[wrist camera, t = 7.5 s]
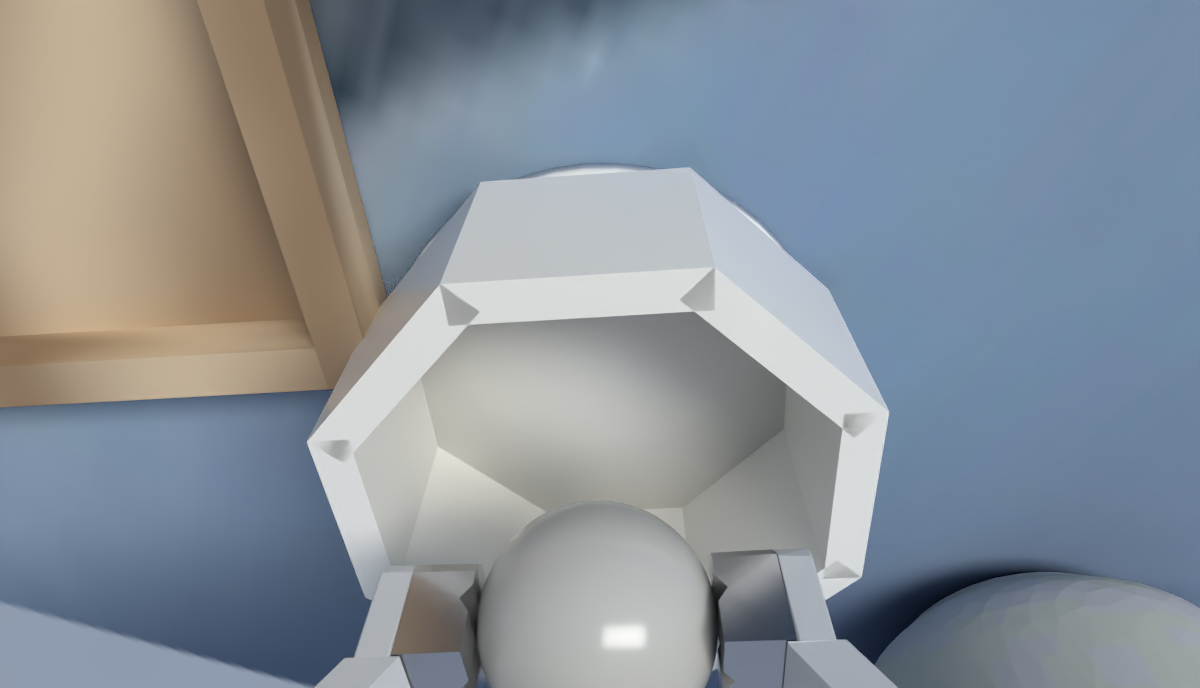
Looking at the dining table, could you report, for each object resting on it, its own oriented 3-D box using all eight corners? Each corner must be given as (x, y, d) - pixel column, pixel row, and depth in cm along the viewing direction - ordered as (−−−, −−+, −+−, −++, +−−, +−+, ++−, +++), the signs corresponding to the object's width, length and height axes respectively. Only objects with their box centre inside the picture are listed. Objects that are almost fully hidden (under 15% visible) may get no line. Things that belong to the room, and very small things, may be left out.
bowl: (438, 521, 20) (397, 682, 16) (345, 180, 15) (251, 296, 11) (799, 504, 19) (846, 666, 15) (833, 145, 14) (915, 254, 10)
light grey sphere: (509, 604, 14) (481, 811, 11) (477, 457, 12) (432, 661, 9) (705, 596, 14) (731, 806, 11) (705, 446, 12) (736, 651, 9)
